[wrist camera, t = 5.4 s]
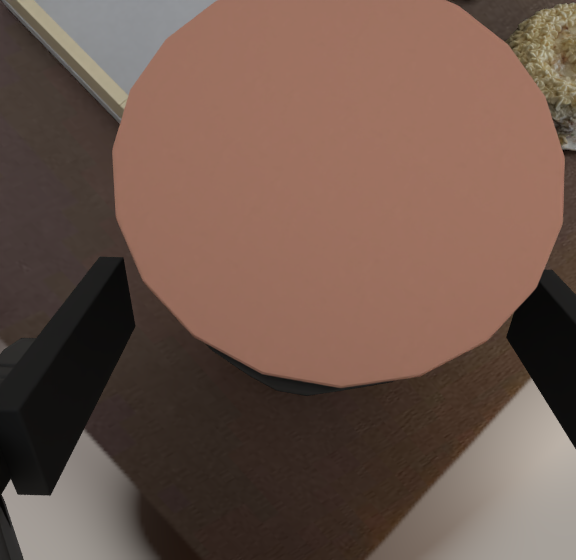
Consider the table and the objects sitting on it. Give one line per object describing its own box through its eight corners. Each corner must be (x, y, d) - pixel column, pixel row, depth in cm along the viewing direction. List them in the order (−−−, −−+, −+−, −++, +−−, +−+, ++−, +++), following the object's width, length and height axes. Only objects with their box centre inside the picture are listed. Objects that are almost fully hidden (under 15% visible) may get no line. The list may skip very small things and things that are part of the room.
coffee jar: (360, 202, 30) (464, -72, 13) (420, 364, 28) (654, 302, 10) (198, 248, 29) (68, 24, 12) (244, 420, 27) (168, 458, 9)
